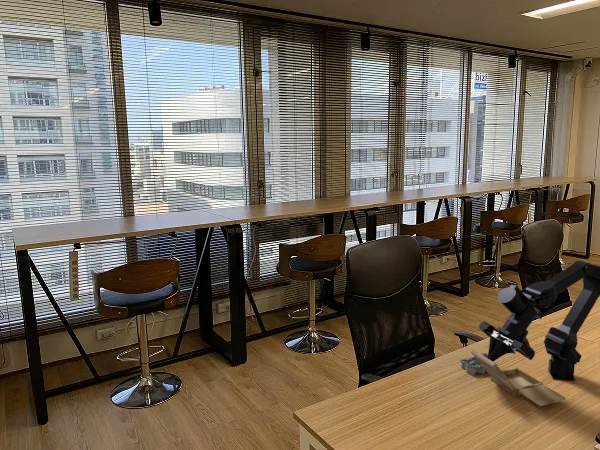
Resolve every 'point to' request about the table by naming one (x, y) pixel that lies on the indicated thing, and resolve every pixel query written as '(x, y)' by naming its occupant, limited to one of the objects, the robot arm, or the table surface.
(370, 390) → the table surface
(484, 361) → the flap
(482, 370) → the egg carton
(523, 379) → the carton
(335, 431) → the table surface
